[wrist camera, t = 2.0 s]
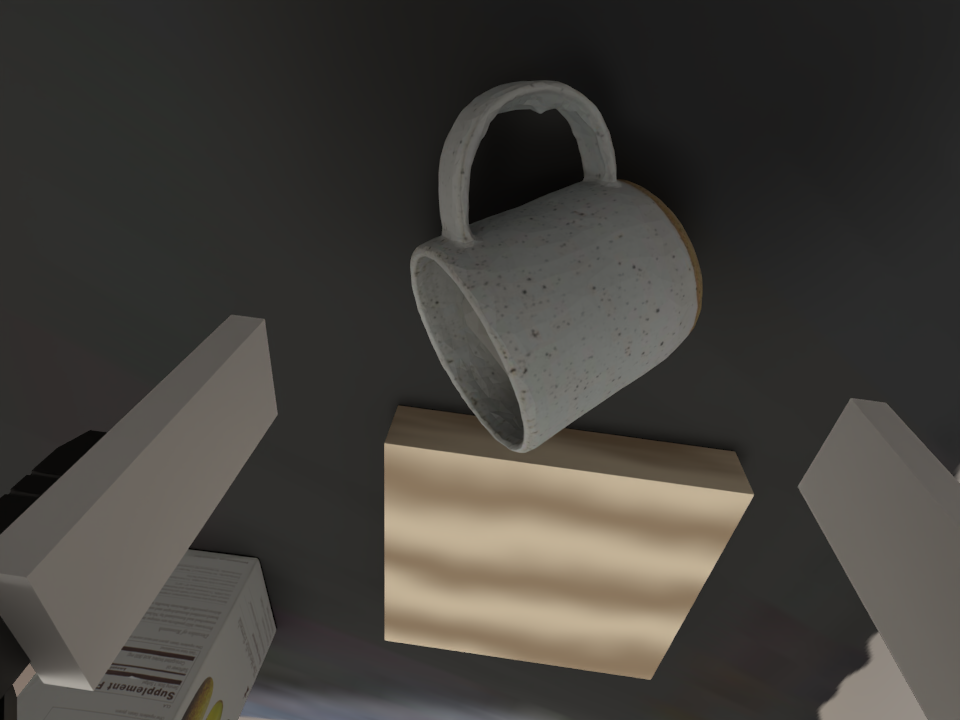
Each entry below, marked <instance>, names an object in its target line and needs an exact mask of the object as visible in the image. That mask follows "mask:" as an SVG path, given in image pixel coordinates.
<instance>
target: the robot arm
mask: <svg viewBox="0 0 960 720" xmlns="http://www.w3.org/2000/svg"><path fill="white" fill-rule="evenodd" d="M277 415H278V414H277V406H276V399H275V392H274V384H273V377H272V370H271V362H270V355H269V348H268V340H267V333H266V326H265V319H259V318H252V317H245V316H237V315H231V316H229V317H228V318H227V319H226V320H225V321H224V322H223V323H222V324H221V325H220V326H219V327H218V328H217V329H216V330H215V331H214V332H213V333H212V334H211V335H210V336H208V337H207V338H206V339H205V340H204V341H203V342H202V343H201V344H200V345H199V346H198V347H197V348H196V349H195V350H194V351H193V352H192V353H191V354H190V355H189V356H187V357H186V358H185V359H184V360H183V361H182V362H181V363H180V364H179V365H178V366H177V367H176V368H175V369H174V370H173V371H172V372H171V373H170V374H169V375H167V376H166V377H165V378H164V379H163V380H162V381H161V382H160V383H159V384H158V385H157V386H156V387H155V388H154V389H153V390H152V391H151V392H150V393H149V394H148V395H146V396H145V397H144V398H143V399H142V400H141V401H140V402H139V403H138V404H137V405H136V406H135V407H134V408H133V409H132V410H131V411H130V412H129V413H128V414H127V415H125V416H124V417H123V418H122V419H121V420H120V421H119V422H118V423H117V424H116V425H115V426H114V427H113V428H112V429H111V430H110V431H109V432H108V433H106V432H99V431H92V430H90V431H88V432H86V433H84V434H82V435H80V436H79V437H77V438H75V439H73V440H71V441H69V442H67V443H66V444H64V445H62V446H60V447H58V448H57V449H56V450H54V451H53V452H52V453H51V454H50V455H49V456H48V457H46V458H45V459H44V460H43V461H42V462H41V463H40V464H39V465H37V466H36V467H35V468H34V469H33V470H32V474H31V475H26V476H25V477H24V478H23V479H22V480H20V481H19V482H18V483H17V484H16V485H15V486H14V487H13V488H11V492H10V493H9V494H8V495H7V494H5V495H4V496H2V497H1V498H0V720H17V697H16V694H15V690H14V687H13V685H12V684H13V683H14V682H15V681H16V679H17V678H18V677H19V676H20V674H21V673H22V672H23V670H24V669H25V668H26V667H27V665H28V664H29V663H30V664H31V666H32V667H33V669H34V670H35V672H36V673H37V675H38V676H39V678H40V679H41V680H42V682H43V683H44V684H50V685H57V686H63V687H70V688H76V689H83V690H89V691H94V690H95V688H96V687H97V685H98V684H99V682H100V681H101V679H102V678H103V676H104V675H105V673H106V672H107V670H108V669H109V667H110V666H111V664H112V663H113V661H114V660H115V658H116V657H117V655H118V654H119V652H120V651H121V649H122V648H123V646H124V645H125V643H126V642H127V640H128V639H129V637H130V636H131V634H132V633H133V631H134V630H135V628H136V627H137V625H138V624H139V622H140V621H141V619H142V618H143V616H144V615H145V613H146V612H147V610H148V609H149V607H150V605H151V604H152V602H153V601H154V599H155V598H156V596H157V595H158V593H159V592H160V590H161V589H162V587H163V586H164V584H165V583H166V581H167V580H168V578H169V577H170V575H171V574H172V572H173V571H174V569H175V568H176V566H177V565H178V563H179V562H180V560H181V559H182V557H183V556H184V554H185V553H186V551H187V550H188V548H189V547H190V545H191V544H192V542H193V541H194V539H195V538H196V536H197V535H198V533H199V532H200V530H201V529H202V527H203V526H204V524H205V523H206V521H207V520H208V518H209V517H210V515H211V514H212V512H213V511H214V509H215V508H216V506H217V505H218V503H219V502H220V500H221V499H222V497H223V496H224V494H225V493H226V491H227V490H228V488H229V487H230V485H231V484H232V482H233V481H234V479H235V478H236V476H237V475H238V473H239V472H240V470H241V469H242V467H243V466H244V464H245V463H246V461H247V460H248V458H249V457H250V455H251V454H252V452H253V451H254V449H255V448H256V446H257V445H258V443H259V442H260V440H261V439H262V437H263V436H264V434H265V433H266V431H267V430H268V428H269V427H270V425H271V424H272V422H273V421H274V419H275V418H276V416H277ZM798 488H799V490H800V492H801V493H802V495H803V497H804V499H805V501H806V502H807V504H808V506H809V508H810V510H811V511H812V513H813V515H814V517H815V519H816V520H817V522H818V524H819V526H820V528H821V529H822V531H823V533H824V535H825V536H826V538H827V540H828V542H829V544H830V545H831V547H832V549H833V551H834V553H835V554H836V556H837V558H838V560H839V562H840V563H841V565H842V567H843V569H844V571H845V572H846V574H847V576H848V578H849V579H850V581H851V583H852V585H853V587H854V588H855V590H856V592H857V594H858V596H859V597H860V599H861V601H862V603H863V605H864V606H865V608H866V610H867V612H868V614H869V615H870V617H871V619H872V621H873V622H874V624H875V626H876V628H877V630H878V631H879V633H880V635H881V637H882V638H883V640H884V642H885V644H886V646H887V648H888V649H889V651H890V653H891V655H892V656H893V658H894V660H895V662H896V664H897V666H898V667H899V669H900V671H901V672H902V674H903V676H904V678H905V680H906V682H907V683H908V685H909V687H910V689H911V690H912V692H913V694H914V696H915V698H916V699H917V701H918V703H919V705H920V706H921V708H922V710H923V712H924V714H925V716H926V717H927V719H928V720H960V483H959V482H958V481H957V480H956V479H955V478H954V477H953V476H952V475H951V473H950V472H949V471H948V470H947V469H946V468H945V467H944V466H943V465H942V464H941V463H940V461H939V460H938V459H937V458H936V457H935V456H934V455H933V454H932V453H931V452H930V450H929V449H928V448H927V447H926V446H925V445H924V444H923V443H922V442H921V441H920V439H919V438H918V437H917V436H916V435H915V434H914V433H913V432H912V431H911V430H910V429H909V427H908V426H907V425H906V424H905V423H904V422H903V421H902V420H901V419H900V418H899V416H898V415H897V414H896V413H895V412H894V411H893V410H892V409H891V408H890V407H889V406H888V404H887V403H884V402H876V401H869V400H861V399H854V398H851V399H850V400H849V402H848V404H847V405H846V407H845V409H844V410H843V412H842V414H841V415H840V417H839V419H838V420H837V422H836V424H835V425H834V427H833V429H832V430H831V432H830V434H829V435H828V437H827V439H826V440H825V442H824V444H823V445H822V447H821V449H820V450H819V452H818V454H817V455H816V457H815V459H814V460H813V462H812V464H811V465H810V467H809V469H808V470H807V472H806V474H805V475H804V477H803V479H802V480H801V482H800V484H799V485H798Z"/></svg>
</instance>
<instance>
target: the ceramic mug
mask: <svg viewBox="0 0 960 720" xmlns="http://www.w3.org/2000/svg"><path fill="white" fill-rule="evenodd" d="M554 108H555V109H557V110H558V111H559V112H560V113H561V114H562V115H563V116H564V117H565V118H566V120H567V121H568V123H569V125H570V126H571V129H572V132H573V135H574V136H575V138H576V139H577V143H578V147H579V151H580V154H581V157H582V165H583V171H584V179H583V181H581V182H578V183H575V184H573V185H570V186H568V187H565V188H562V189H560V190H557V191H555V192H552V193H549V194H547V195H545V196H542V197H540V198H538V199H535V200H533V201H531V202H529V203H526V204H524V205H522V206H519V207H517V208H514V209H511V210H508V211H505V212H502V213H500V214H496V215H493V216H490V217H487V218H485V219H483V220H480V221H477V222H474V223H472V224H469V219H468V212H469V200H468V196H469V183H470V172H471V165H472V163H473V160H474V157H475V154H476V151H477V149H478V146H479V144H480V141H481V139H482V138H483V137H484V136H485V134H486V132H487V129H488V127H489V124H490V122H491V121H492V120H493V119H494V118H495V116H496V115H497V114H498V113H503V112H508V111H512V110H520V109H531V110H533V111H535V112H537V113H539V114H541V113H543V112H545V111H546V110H550V109H554ZM438 175H439V208H440V217H441V222H442V235H441V236H439V237H436V238H434V239H431V240H429V241H427V242H425V243H423V244H421V245H420V246H418V247H417V248H416V249H415V250H414V252H413V254H412V257H411V262H410V271H411V280H412V289H413V292H414V296H415V299H416V303H417V307H418V311H419V313H420V315H421V319H422V322H423V324H424V326H425V328H426V331H427V333H428V336H429V338H430V341H431V343H432V345H433V347H434V349H435V351H436V353H437V355H438V357H439V360H440V362H441V364H442V366H443V367H444V369H445V370H446V372H447V373H448V375H449V376H450V378H451V381H452V383H453V384H454V386H455V387H456V389H457V390H458V391H459V393H460V394H461V397H462V398H463V399H464V400H465V402H466V403H467V405H468V407H469V408H470V409H471V410H472V411H473V413H474V414H475V415H476V417H477V418H478V420H479V421H480V422H481V424H482V425H483V426H484V427H485V428H486V429H487V430H488V431H489V433H490V434H491V435H492V436H493V437H494V438H495V439H496V440H497V441H498V442H500V443H501V444H503V445H504V446H506V447H507V448H508V449H510V450H512V451H515V452H518V453H526V452H528V451H531V450H533V449H535V448H537V447H538V446H540V445H541V444H542V443H544V442H545V441H547V440H548V439H549V438H551V437H552V436H554V435H555V434H556V433H558V432H559V431H561V430H562V429H563V428H565V427H566V426H568V425H569V424H570V423H572V422H573V421H575V420H576V419H577V418H579V417H580V416H582V415H583V414H585V413H586V412H588V411H589V410H591V409H592V408H594V407H595V406H597V405H598V404H600V403H601V402H603V401H604V400H606V399H607V398H609V397H610V396H611V395H613V394H614V393H616V392H617V391H619V390H620V389H622V388H623V387H625V386H626V385H628V384H630V383H631V382H633V381H634V380H636V379H638V378H639V377H641V376H642V375H644V374H645V373H646V372H648V371H649V370H651V369H652V368H653V367H655V366H656V365H658V364H659V363H660V362H662V361H663V360H665V359H666V358H667V357H668V356H669V355H670V354H671V353H672V352H673V351H674V350H675V349H676V348H677V347H678V346H679V345H680V344H681V343H682V342H683V340H684V339H685V338H686V337H687V336H688V335H689V333H690V332H691V331H692V330H693V328H694V327H695V324H696V321H697V319H698V316H699V314H700V311H701V303H702V292H703V291H702V275H701V271H700V267H699V262H698V259H697V256H696V253H695V251H694V248H693V245H692V243H691V241H690V239H689V237H688V235H687V233H686V231H685V230H684V228H683V226H682V224H681V223H680V222H679V220H678V219H677V217H676V216H675V215H674V213H673V212H672V211H671V210H670V209H669V208H668V207H667V206H666V205H665V204H664V203H663V202H662V201H661V200H660V199H659V198H657V197H656V196H655V195H653V194H652V193H651V192H649V191H648V190H646V189H645V188H643V187H641V186H639V185H637V184H635V183H632V182H630V181H628V180H621V179H616V161H615V152H614V148H613V145H612V140H611V136H610V132H609V130H608V128H607V126H606V124H605V122H604V120H603V117H602V115H601V113H600V112H599V110H598V109H597V107H596V106H595V105H594V104H593V103H592V102H591V101H590V100H589V99H588V98H586V97H585V96H584V95H583V94H582V93H580V92H578V91H577V90H575V89H573V88H572V87H570V86H568V85H566V84H563V83H561V82H558V81H549V80H542V81H518V82H512V83H507V84H502V85H499V86H497V87H494V88H492V89H490V90H488V91H486V92H484V93H482V94H481V95H479V96H477V97H476V98H475V99H474V100H473V101H472V102H471V103H469V104H468V105H467V106H466V107H465V108H464V109H463V110H462V111H461V113H460V114H459V116H458V117H457V119H456V121H455V123H454V125H453V126H452V128H451V130H450V132H449V134H448V136H447V138H446V140H445V143H444V147H443V150H442V154H441V157H440V164H439V173H438Z"/></svg>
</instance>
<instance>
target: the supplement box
mask: <svg viewBox="0 0 960 720" xmlns="http://www.w3.org/2000/svg"><path fill="white" fill-rule="evenodd" d="M275 633H276V626H275V622H274V619H273V615H272V611H271V606H270V602H269V598H268V594H267V590H266V586H265V582H264V578H263V574H262V570H261V566H260V562H259V560H258V559H257V558H252V557H245V556H237V555H229V554H221V553H213V552H206V551H198V550H190V549H188V550H187V551H186V553H185V554H184V556H183V557H182V559H181V560H180V562H179V563H178V565H177V566H176V568H175V569H174V571H173V572H172V574H171V575H170V577H169V578H168V580H167V581H166V583H165V584H164V586H163V587H162V589H161V590H160V592H159V593H158V595H157V596H156V598H155V599H154V601H153V602H152V604H151V605H150V607H149V609H148V610H147V612H146V613H145V615H144V616H143V618H142V619H141V621H140V622H139V624H138V625H137V627H136V628H135V630H134V631H133V633H132V634H131V636H130V637H129V639H128V640H127V642H126V643H125V645H124V646H123V648H122V649H121V651H120V652H119V654H118V655H117V657H116V658H115V660H114V661H113V663H112V664H111V666H110V667H109V669H108V670H107V672H106V673H105V675H104V676H103V678H102V679H101V681H100V682H99V684H98V685H97V687H96V688H95V690H94V691H89V690H83V689H76V688H70V687H63V686H57V685H50V684H44V683H43V682H42V680H41V679H40V678H39V676H38V675H37V673H36V674H35V675H34V676H33V678H32V679H31V680H30V682H29V683H28V684H27V685H26V687H25V688H24V689H23V690H22V692H21V693H20V694H19V696H18V697H17V720H238V718H239V716H240V714H241V711H242V709H243V707H244V704H245V702H246V700H247V697H248V695H249V693H250V690H251V688H252V686H253V684H254V681H255V679H256V677H257V674H258V672H259V670H260V667H261V665H262V663H263V660H264V658H265V656H266V654H267V651H268V649H269V647H270V644H271V642H272V640H273V637H274V635H275Z"/></svg>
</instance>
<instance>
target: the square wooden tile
mask: <svg viewBox="0 0 960 720" xmlns="http://www.w3.org/2000/svg"><path fill="white" fill-rule="evenodd" d="M384 464H385V640H386V641H393V642H399V643H406V644H413V645H420V646H426V647H433V648H440V649H447V650H453V651H460V652H467V653H474V654H480V655H487V656H494V657H501V658H507V659H514V660H521V661H528V662H534V663H541V664H548V665H555V666H561V667H568V668H575V669H582V670H588V671H595V672H602V673H609V674H615V675H622V676H629V677H636V678H642V679H649V680H651V678H652V676H653V675H654V673H655V671H656V669H657V668H658V666H659V664H660V662H661V660H662V659H663V657H664V655H665V653H666V651H667V650H668V648H669V646H670V644H671V642H672V641H673V639H674V637H675V635H676V634H677V632H678V630H679V628H680V626H681V625H682V623H683V621H684V619H685V617H686V616H687V614H688V612H689V610H690V609H691V607H692V605H693V603H694V601H695V600H696V598H697V596H698V594H699V592H700V591H701V589H702V587H703V585H704V583H705V582H706V580H707V578H708V576H709V575H710V573H711V571H712V569H713V567H714V566H715V564H716V562H717V560H718V558H719V557H720V555H721V553H722V551H723V549H724V548H725V546H726V544H727V542H728V541H729V539H730V537H731V535H732V533H733V532H734V530H735V528H736V526H737V524H738V523H739V521H740V519H741V517H742V516H743V514H744V512H745V510H746V508H747V507H748V505H749V503H750V501H751V499H752V498H753V496H754V493H753V491H752V489H751V487H750V484H749V482H748V480H747V478H746V475H745V473H744V471H743V468H742V466H741V464H740V462H739V459H738V457H737V455H736V453H735V452H734V451H727V450H719V449H712V448H705V447H698V446H690V445H683V444H676V443H669V442H661V441H654V440H647V439H639V438H632V437H625V436H618V435H610V434H603V433H596V432H589V431H581V430H574V429H567V428H563V429H562V430H561V431H559V432H558V433H556V434H555V435H554V436H552V437H551V438H549V439H548V440H547V441H545V442H544V443H542V444H541V445H540V446H538V447H537V448H535V449H533V450H531V451H528V452H526V453H518V452H515V451H512V450H510V449H508V448H507V447H506V446H504V445H503V444H501V443H500V442H498V441H497V440H496V439H495V438H494V437H493V436H492V435H491V434H490V433H489V431H488V430H487V429H486V428H485V427H484V426H483V425H482V424H481V422H480V421H479V420H478V418H477V417H476V416H472V415H465V414H458V413H450V412H443V411H436V410H429V409H421V408H414V407H407V406H399V405H398V407H397V410H396V413H395V415H394V418H393V421H392V424H391V426H390V429H389V432H388V435H387V438H386V440H385V443H384Z"/></svg>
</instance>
